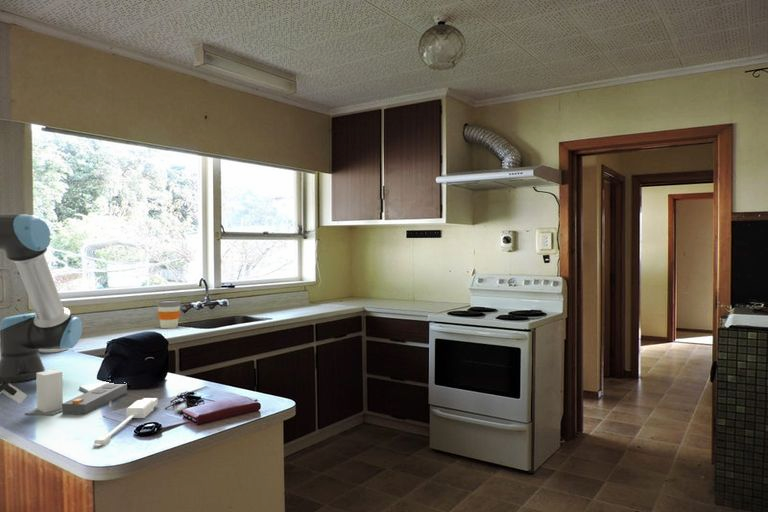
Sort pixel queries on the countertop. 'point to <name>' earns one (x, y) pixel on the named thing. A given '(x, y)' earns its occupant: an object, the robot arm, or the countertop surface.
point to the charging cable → (130, 417)
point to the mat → (38, 412)
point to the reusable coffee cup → (168, 313)
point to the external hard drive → (92, 386)
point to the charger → (49, 390)
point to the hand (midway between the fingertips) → (12, 395)
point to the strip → (94, 399)
